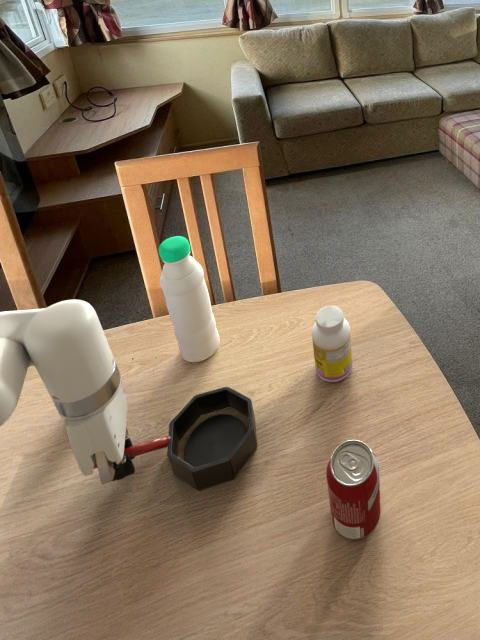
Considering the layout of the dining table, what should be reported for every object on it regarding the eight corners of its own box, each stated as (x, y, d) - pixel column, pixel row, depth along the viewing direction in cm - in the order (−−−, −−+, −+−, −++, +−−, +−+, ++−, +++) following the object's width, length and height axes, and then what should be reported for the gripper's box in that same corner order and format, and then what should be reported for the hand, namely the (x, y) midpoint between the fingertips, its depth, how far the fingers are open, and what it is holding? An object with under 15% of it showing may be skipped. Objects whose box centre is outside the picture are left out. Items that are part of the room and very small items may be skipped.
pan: (85, 528, 65) (74, 509, 63) (102, 441, 76) (94, 422, 74) (259, 470, 72) (255, 451, 69) (253, 397, 82) (249, 378, 80)
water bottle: (172, 357, 89) (140, 251, 78) (198, 328, 95) (172, 226, 84) (202, 369, 87) (173, 261, 76) (228, 339, 93) (204, 235, 82)
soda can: (362, 555, 62) (358, 503, 57) (321, 523, 65) (314, 471, 60) (389, 504, 67) (388, 452, 62) (350, 476, 71) (346, 425, 65)
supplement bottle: (314, 355, 89) (308, 304, 84) (349, 348, 90) (345, 297, 85) (318, 388, 83) (311, 335, 78) (355, 379, 85) (352, 327, 79)
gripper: (65, 347, 68) (101, 428, 77) (40, 455, 55) (87, 538, 63) (123, 330, 71) (153, 410, 79) (113, 429, 58) (149, 513, 66)
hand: (123, 467), depth 71 cm, fingers closed on pan, 1 cm apart
